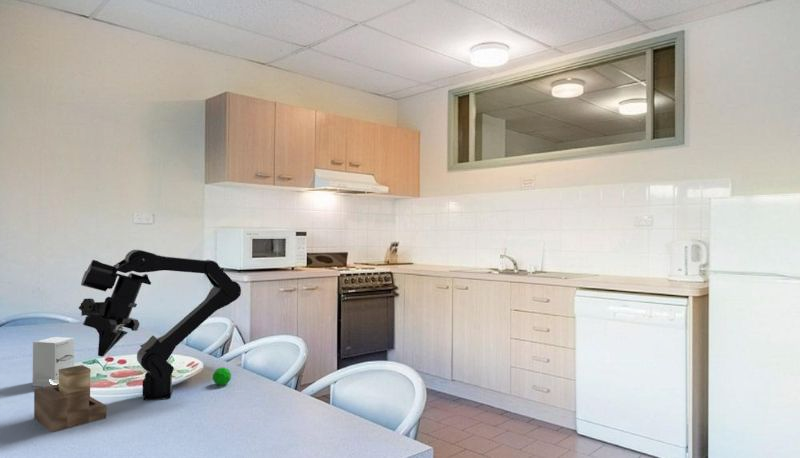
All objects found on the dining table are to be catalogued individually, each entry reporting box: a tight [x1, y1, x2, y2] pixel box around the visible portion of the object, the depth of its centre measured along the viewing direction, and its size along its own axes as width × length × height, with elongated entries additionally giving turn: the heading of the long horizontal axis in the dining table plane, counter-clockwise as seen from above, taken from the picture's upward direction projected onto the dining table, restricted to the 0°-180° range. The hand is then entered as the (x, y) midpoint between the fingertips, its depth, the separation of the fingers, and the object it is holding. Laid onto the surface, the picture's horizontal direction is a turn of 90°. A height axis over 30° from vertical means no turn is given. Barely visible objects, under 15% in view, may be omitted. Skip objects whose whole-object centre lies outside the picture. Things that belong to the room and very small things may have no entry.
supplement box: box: [32, 336, 75, 388], centre depth 151 cm, size 7×7×13 cm
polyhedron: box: [212, 367, 232, 387], centre depth 151 cm, size 5×5×5 cm
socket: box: [33, 384, 107, 433], centre depth 125 cm, size 11×12×7 cm
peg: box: [59, 364, 91, 398], centre depth 125 cm, size 5×5×7 cm
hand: (100, 356), depth 133 cm, fingers closed
